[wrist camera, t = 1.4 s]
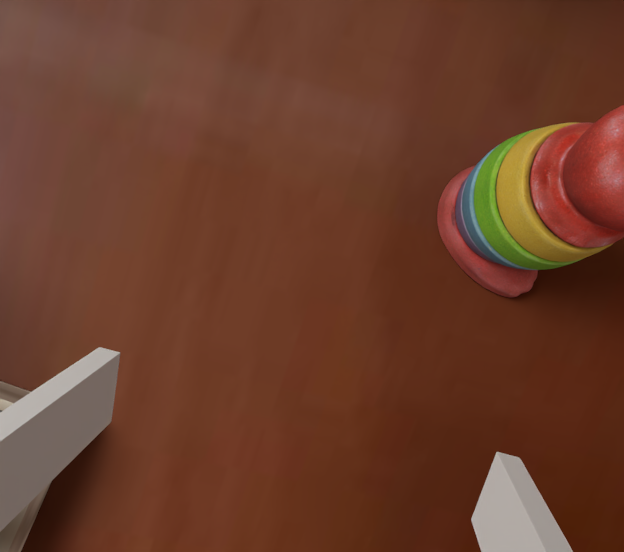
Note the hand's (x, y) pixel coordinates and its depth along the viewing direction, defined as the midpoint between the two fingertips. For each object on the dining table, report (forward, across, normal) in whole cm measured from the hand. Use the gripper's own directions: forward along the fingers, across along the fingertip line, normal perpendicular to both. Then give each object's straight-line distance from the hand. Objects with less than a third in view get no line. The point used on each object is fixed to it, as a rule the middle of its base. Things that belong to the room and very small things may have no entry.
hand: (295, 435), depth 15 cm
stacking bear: (+25, +11, +8) cm, 29 cm away
